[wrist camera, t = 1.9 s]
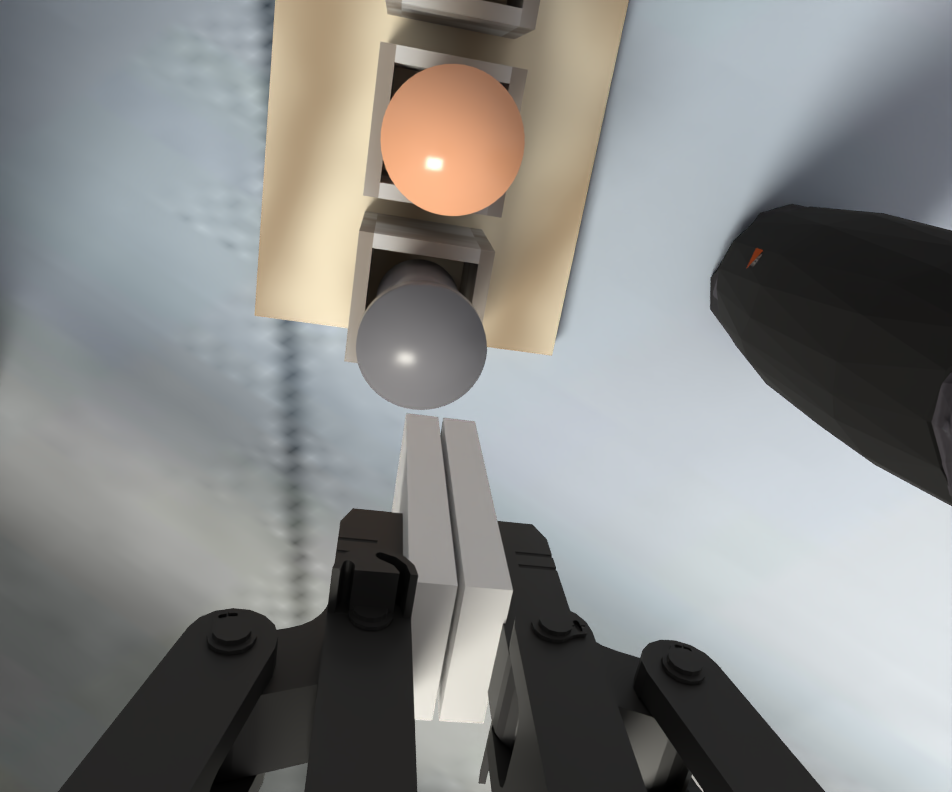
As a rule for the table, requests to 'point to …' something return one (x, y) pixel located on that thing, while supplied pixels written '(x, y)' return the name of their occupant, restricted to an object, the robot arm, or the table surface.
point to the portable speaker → (851, 329)
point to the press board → (373, 192)
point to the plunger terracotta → (452, 139)
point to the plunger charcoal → (420, 338)
